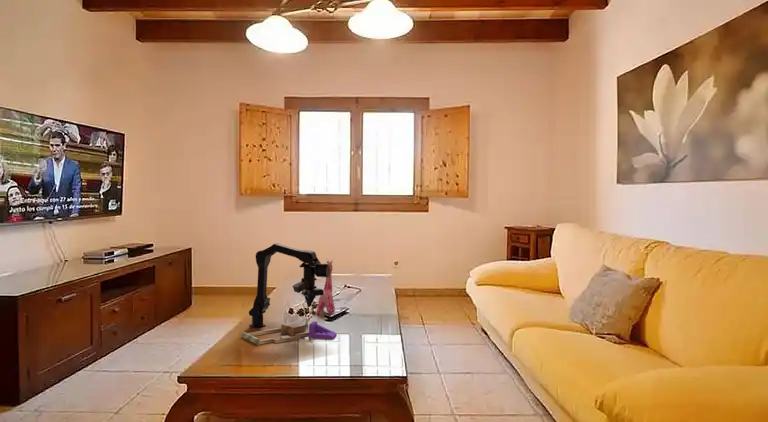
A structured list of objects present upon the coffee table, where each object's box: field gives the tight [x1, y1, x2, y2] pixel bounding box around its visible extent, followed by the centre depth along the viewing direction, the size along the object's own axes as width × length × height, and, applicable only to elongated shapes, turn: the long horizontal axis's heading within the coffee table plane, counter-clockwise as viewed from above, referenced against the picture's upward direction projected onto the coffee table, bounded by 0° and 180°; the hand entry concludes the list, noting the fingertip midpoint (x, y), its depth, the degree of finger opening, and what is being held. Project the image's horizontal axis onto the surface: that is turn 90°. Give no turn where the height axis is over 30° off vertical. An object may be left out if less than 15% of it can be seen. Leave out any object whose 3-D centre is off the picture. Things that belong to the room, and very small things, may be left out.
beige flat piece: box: [241, 327, 309, 346], centre depth 281 cm, size 19×28×2 cm
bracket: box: [308, 320, 338, 340], centre depth 282 cm, size 12×7×7 cm, turn 80°
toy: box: [316, 258, 336, 316], centre depth 334 cm, size 9×26×30 cm, turn 174°
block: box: [280, 321, 306, 337], centre depth 288 cm, size 10×7×4 cm
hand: (309, 306), depth 293 cm, fingers closed
